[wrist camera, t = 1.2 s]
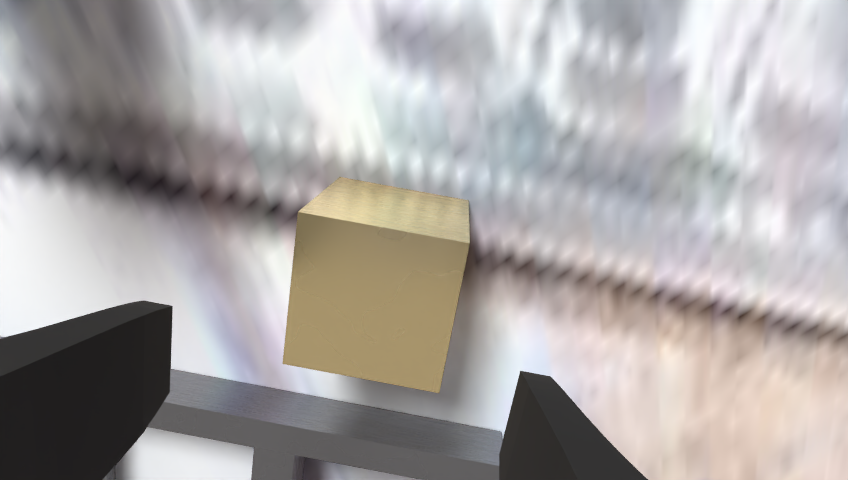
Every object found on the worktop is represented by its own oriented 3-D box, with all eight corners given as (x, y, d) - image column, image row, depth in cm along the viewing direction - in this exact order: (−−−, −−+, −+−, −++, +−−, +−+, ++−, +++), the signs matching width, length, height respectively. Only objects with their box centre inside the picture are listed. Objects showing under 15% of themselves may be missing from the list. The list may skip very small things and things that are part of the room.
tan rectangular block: (468, 200, 19) (469, 243, 14) (445, 317, 20) (438, 393, 15) (340, 176, 19) (298, 211, 14) (325, 295, 20) (282, 363, 15)
